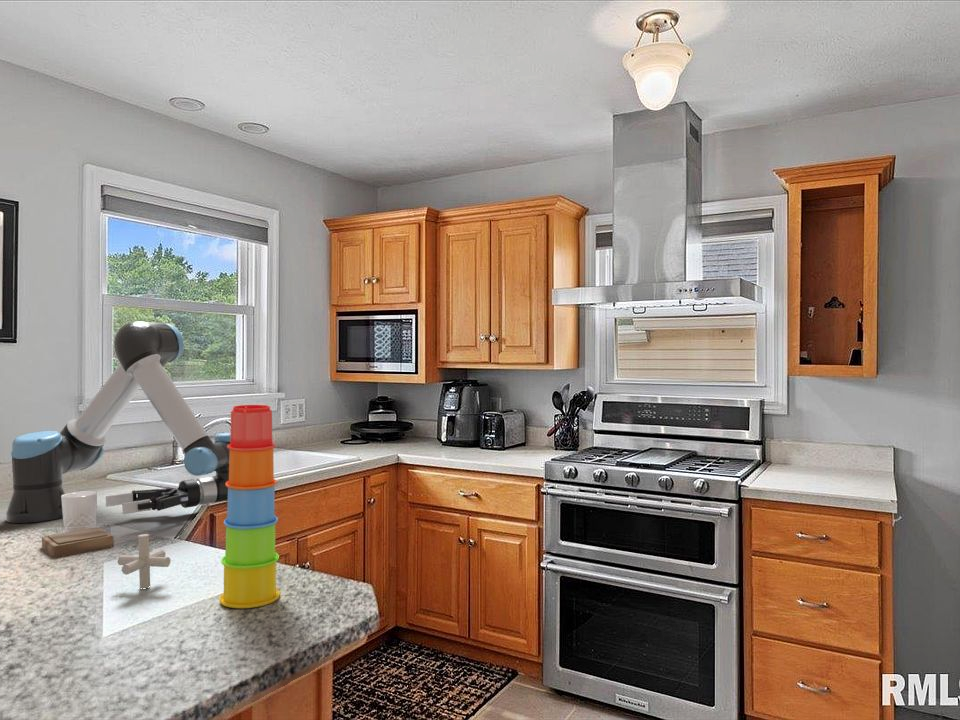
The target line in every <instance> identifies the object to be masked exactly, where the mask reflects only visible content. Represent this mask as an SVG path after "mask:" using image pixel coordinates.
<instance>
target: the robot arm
mask: <svg viewBox="0 0 960 720" xmlns="http://www.w3.org/2000/svg"><path fill="white" fill-rule="evenodd" d="M183 338H184V337H183V335H182V333H181V332H180V330H179V329H178V328H177V327H176V326H174V325H172V324H170V323H166V322H161V321H158V322H154V321H153V322H151V321H142V320H136V321H131V322H127V323H126V324H124V325H122V326H121V327H120V328H119V329H118V330H117V332H116V334H115V336H114V340H113V348H114V352H115V355H116V358H117V360H118V362H119V364H118V365H117V367H116V368H115V370H114V371H113V372H112V374H110V376H109V378H107V380H106V381H105V383H103V385H102V386H101V388H100V389H99V390H98V391H97V393H96V394H95V395H94V397H93V398H92V400H91V401H90V402H89V404H88V405H87V406H86V408H85V409H84V410H83V411H82V413H81V414H80V415H79V417H78V418H77V419H70V420H69V421H68V422H67V423H66V425H65V426H64V427H63V428H62V429H61V431H60V432H59V431H56V430H45V431H44V430H42V431H41V430H40V431H37V432H31V433H30V432H29V433H26V434H21V435H20V436H18V437H16V438H14V440H13V441H12V447H11V451H10V452H11V453H10V454H11V455H10V456H11V464H12V465H11V467H12V486H13V491H12V495H11V498H10V502H9V504H8V507H7V510H6V514H5V515H6V517H5V518H6V523H10V524H28V523H39V522H45V521H52V520H58V519H61V518H63V514H62V502H61V496H62V495H64V494H66V493H65V491H64V488H63V474H69V473H73V472H77V471H78V472H79V471H83V470H86V469H88V468H90V467H93V466H95V464H97V463H98V462H99V461H100V459H101V458H102V457H103V454H104V450H105V449H104V445H105V443H106V441H107V440H106V438H107V437H106V436H105V435H106V433H107V432H108V431H109V429H110V428H111V427H112V425H113V424H114V423H115V422H116V420H117V419H118V418H119V416H121V414H122V412H123V411H124V410H125V408H126V407H127V406H128V405H129V403H130V402H131V401H132V400H133V399H134V397H135V396H136V395H137V393H138V392H139V391H140V389H141V390H142V391H143V394H145V396H146V397H147V399H148V400H149V402H150V403H151V404H152V406H153V408H154V409H155V411H156V413H157V414H158V415H159V417H160V418H161V420H162V421H163V422H164V424H165V426H166V427H167V429H168V430H169V432H170V434H171V435H172V436H173V438H174V439H175V441H176V442H177V443H178V446H179V447H180V448H181V450H182V451H183V453H184V454H185V455H184V458H183V463H184V468H185V470H186V471H187V472H188V473H189V474H191V475H192V476H204V475H209V474H211V473H215V476H206V477H199V478H196V479H194V478H193V479H186V480H185V479H184V480H181V481H180V482H179V484H178V487H177V488H174V487H165V488H154V489H141V490H140V489H139V490H131V492H126V493H118V494H111V495H106V496H105V507H107V508H108V507H114V506H121V507H122V515H127V514H128V515H129V514H135V513H140V512H145V511H146V512H147V511H152V510H153V511H155V510H156V511H158V512H160V511H162V510H167V509H169V508H173V507H176V506H181V507H182V508H184V509H188V508H194V507H198V506H204V505H205V507H208V506H209V505H210V504H217V503H222V502H223V503H224V502H228V487H226V485H225V484H226V482H227V481H229V453H230V449H228V447H227V446H228V445H229V444H230V434H231V432H220V433H217V434H215V436H214V441H213V440H212V439H211V438H210V436H209V435H208V433H207V431H206V430H205V429H204V427H203V426H202V425H201V423H200V421H199V420H198V418H197V416H196V415H195V414H194V412H193V411H192V409H191V408H190V406H189V404H188V403H187V402H186V400H185V399H184V397H183V396H182V394H181V392H180V390H178V387H177V386H176V385H175V384H174V382H173V380H172V379H171V377H170V376H169V374H168V372H167V371H166V369H165V368H164V367H165V366H166V365H167V364H168V363H172V362H175V361H176V360H178V359H179V358H180V356H181V355H182V353H183V351H184V345H185V344H184V343H185V342H184V339H183Z"/></svg>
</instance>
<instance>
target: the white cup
mask: <svg viewBox="0 0 960 720" xmlns="http://www.w3.org/2000/svg"><path fill="white" fill-rule="evenodd" d="M61 502H62V514H63V517H62V522H63V526H64V528H63V529H64V533H66V532H71V531H77V530H83V529H89V528H97V526H96V525H97V524H96V523H97V516H98V515H97V514H98V492H97V491H95V490H83V491H73V492H68V493H65V494H64V495H62V496H61Z"/></svg>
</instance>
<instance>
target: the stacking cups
mask: <svg viewBox="0 0 960 720" xmlns="http://www.w3.org/2000/svg"><path fill="white" fill-rule="evenodd" d="M232 408H233V409H232V410H231V411H230V433H231V434H230V444H229V445H228V446H227V447H228V449H230V453H229V481H227V482H226V484H225V485H226V487H228V501H227V504H226V505H227V511H226V514H227V515H226V519H224V521H223V525H224V526H225V554H224V556H223V557H222V558H221V560H220V561H221V565H222V566H223V593H222V594H220V595H219V598H218V600H219V603H220V604H221V605H222V606H224V607H227V608H231V609H253V608H260V607H263V606H267V605H269V604H271V603H274V602H276V601H277V600H278V599H279V598H280V596H281V595H280V593H281V592H280V590H279V589H278V588H277V576H276V575H277V574H276V573H277V571H276V569H277V568H276V567H277V564H276V563H277V562H278V561H279V559H280V555H279V554H278V553H277V551H276V523H277V522H278V521H279V518H278V517H277V516H276V515H275V513H276V512H275V509H276V508H275V506H276V505H275V504H276V503H275V498H276V497H275V494H276V493H275V490H276V489H275V488H276V487H275V485H277V483H278V482H277V480H276V479H275V478H274V475H275V474H274V448H275V447H276V443H274V442H273V411H272V409H271V406H270V405H267V404H266V405H264V404H244V405H243V404H241V405H235V406H233V407H232Z"/></svg>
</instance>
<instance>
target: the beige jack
mask: <svg viewBox="0 0 960 720" xmlns="http://www.w3.org/2000/svg"><path fill="white" fill-rule="evenodd" d="M137 536H138V537H137V540H138V543H137V544H138V555H124V554H123V555H120V556H118V559H117V565H119V566H122V567H121V573H122V574H124V576H125V575H126V576H127V575H129V574H132V573H133V572H137V571H138V572H139V575H138V576H139V589H140V588H142V589H141V590H144V589H143V588H148V587H149V586H150V587H151V567H158V568H159V567H160V568H168V567H169V566H170V564H171V562H172V561H171V558H170V557H169V556H166V552H165V550H164V549H158V550H156V551H154V552H151V553H150V535H149V534H148V533H142V534H138V535H137ZM148 589H149V588H148Z"/></svg>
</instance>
